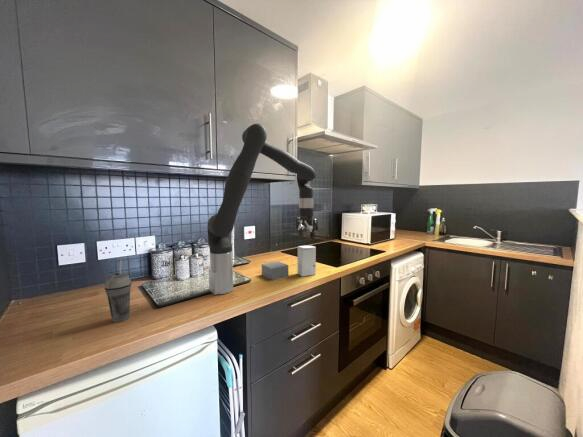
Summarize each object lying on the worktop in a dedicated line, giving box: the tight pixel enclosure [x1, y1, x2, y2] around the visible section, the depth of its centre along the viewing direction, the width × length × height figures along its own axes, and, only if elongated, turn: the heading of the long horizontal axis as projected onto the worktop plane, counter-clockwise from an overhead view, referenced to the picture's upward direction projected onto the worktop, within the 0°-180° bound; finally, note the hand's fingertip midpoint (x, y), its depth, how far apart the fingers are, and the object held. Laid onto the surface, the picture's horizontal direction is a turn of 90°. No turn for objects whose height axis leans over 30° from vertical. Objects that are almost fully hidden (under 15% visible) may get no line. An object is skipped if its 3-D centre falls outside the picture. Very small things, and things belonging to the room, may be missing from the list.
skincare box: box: [296, 245, 317, 277], centre depth 123 cm, size 8×6×15 cm
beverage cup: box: [104, 259, 132, 323], centre depth 77 cm, size 7×7×20 cm
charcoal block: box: [261, 260, 289, 281], centre depth 121 cm, size 10×10×6 cm
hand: (306, 238), depth 122 cm, fingers open, 8 cm apart
